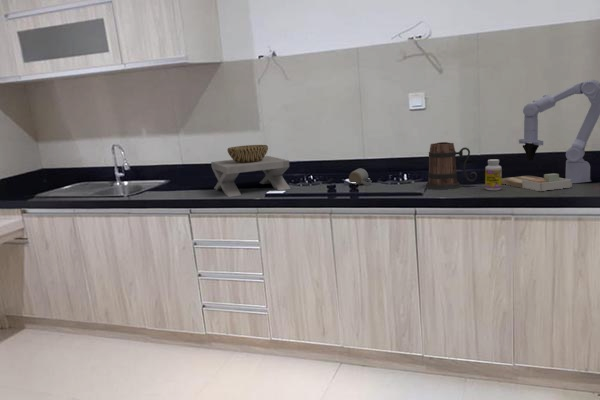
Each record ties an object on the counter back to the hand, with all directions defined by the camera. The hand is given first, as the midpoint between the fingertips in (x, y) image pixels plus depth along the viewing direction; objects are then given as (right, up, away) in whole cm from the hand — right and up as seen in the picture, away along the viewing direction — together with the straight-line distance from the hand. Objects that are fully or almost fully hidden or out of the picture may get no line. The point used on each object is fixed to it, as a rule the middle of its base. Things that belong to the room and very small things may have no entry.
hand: (530, 160), depth 249 cm
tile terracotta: (-5, -13, -18) cm, 22 cm away
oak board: (-5, -11, -6) cm, 13 cm away
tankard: (-37, -12, 0) cm, 39 cm away
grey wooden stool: (-131, -13, +32) cm, 135 cm away
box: (-1, -13, -19) cm, 23 cm away
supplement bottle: (-22, -14, -14) cm, 29 cm away
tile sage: (+1, -10, -17) cm, 19 cm away
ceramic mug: (-75, -11, +22) cm, 79 cm away
